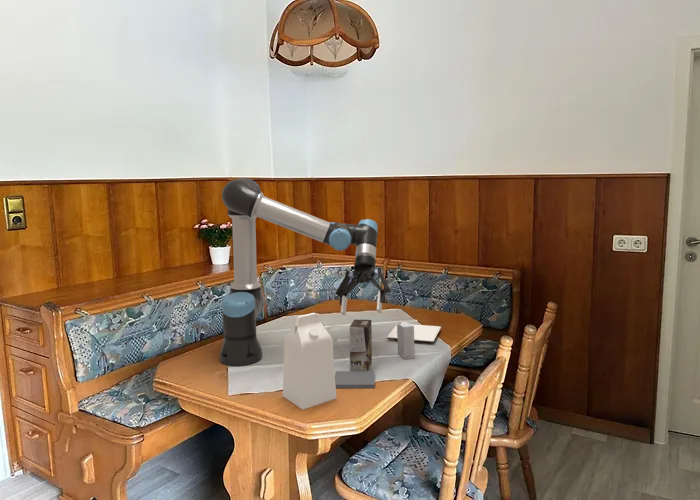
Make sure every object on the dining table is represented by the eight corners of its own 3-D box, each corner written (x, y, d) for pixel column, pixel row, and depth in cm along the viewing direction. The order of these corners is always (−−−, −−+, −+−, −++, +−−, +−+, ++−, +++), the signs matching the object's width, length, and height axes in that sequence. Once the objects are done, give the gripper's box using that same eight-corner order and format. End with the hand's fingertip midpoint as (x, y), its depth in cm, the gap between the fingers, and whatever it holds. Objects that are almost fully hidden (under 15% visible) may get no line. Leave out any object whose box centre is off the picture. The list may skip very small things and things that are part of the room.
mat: (335, 374, 183) (335, 371, 183) (374, 374, 183) (374, 371, 183) (333, 388, 173) (333, 384, 172) (374, 388, 172) (374, 384, 172)
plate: (386, 341, 216) (386, 336, 215) (397, 327, 233) (397, 322, 233) (433, 345, 210) (433, 340, 210) (441, 331, 227) (441, 326, 227)
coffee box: (368, 373, 184) (367, 327, 181) (349, 372, 185) (348, 326, 182) (372, 363, 193) (372, 319, 190) (354, 362, 194) (354, 318, 191)
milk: (315, 386, 174) (313, 307, 170) (336, 398, 165) (334, 315, 161) (282, 396, 167) (279, 314, 163) (302, 409, 158) (299, 323, 154)
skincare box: (415, 358, 197) (415, 325, 195) (403, 359, 196) (403, 327, 193) (407, 352, 203) (407, 321, 201) (396, 354, 201) (396, 322, 199)
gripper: (400, 259, 199) (398, 314, 189) (338, 266, 209) (333, 318, 199) (394, 250, 193) (391, 305, 183) (330, 257, 203) (324, 311, 193)
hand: (360, 312), depth 191 cm, fingers open, 13 cm apart
